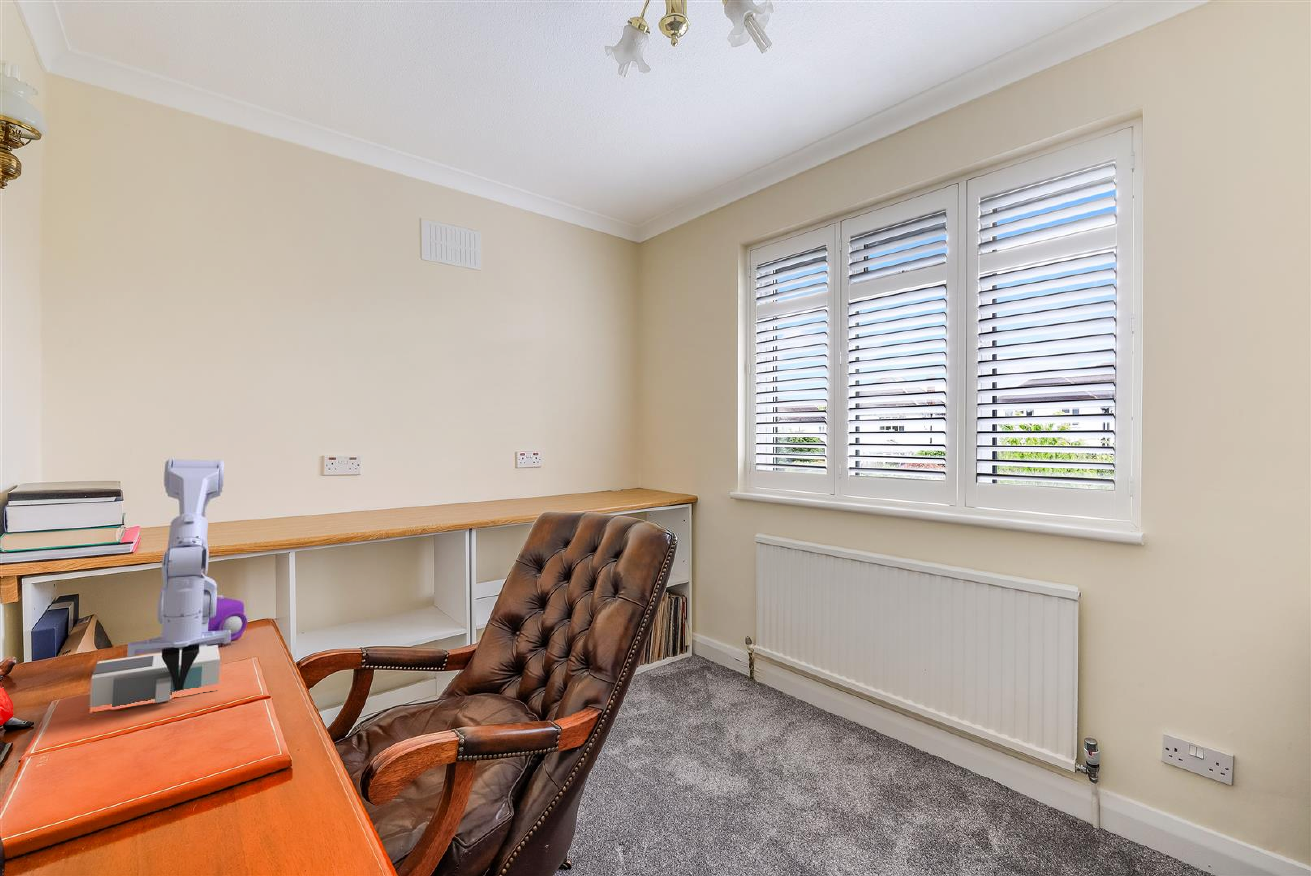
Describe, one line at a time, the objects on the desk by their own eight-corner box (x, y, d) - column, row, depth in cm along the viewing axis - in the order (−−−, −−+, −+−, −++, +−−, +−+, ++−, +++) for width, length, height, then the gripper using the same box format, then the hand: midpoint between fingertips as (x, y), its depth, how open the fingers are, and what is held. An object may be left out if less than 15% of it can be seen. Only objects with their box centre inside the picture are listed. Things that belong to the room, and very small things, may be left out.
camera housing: (95, 694, 110) (98, 658, 110) (216, 674, 121) (217, 641, 121) (88, 714, 102) (91, 675, 102) (218, 690, 113) (220, 656, 113)
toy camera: (219, 652, 134) (222, 608, 134) (170, 646, 136) (173, 603, 137) (260, 638, 144) (262, 597, 145) (214, 632, 147) (216, 592, 147)
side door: (112, 708, 104) (114, 678, 104) (171, 697, 108) (173, 669, 109) (110, 716, 100) (112, 686, 100) (170, 705, 105) (172, 676, 105)
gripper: (127, 624, 99) (122, 705, 99) (233, 612, 108) (229, 686, 108) (130, 614, 105) (126, 691, 104) (230, 604, 114) (226, 674, 114)
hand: (178, 688), depth 107 cm, fingers closed
